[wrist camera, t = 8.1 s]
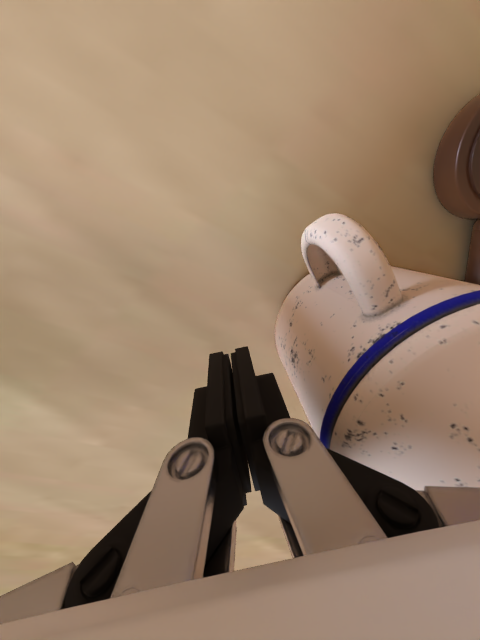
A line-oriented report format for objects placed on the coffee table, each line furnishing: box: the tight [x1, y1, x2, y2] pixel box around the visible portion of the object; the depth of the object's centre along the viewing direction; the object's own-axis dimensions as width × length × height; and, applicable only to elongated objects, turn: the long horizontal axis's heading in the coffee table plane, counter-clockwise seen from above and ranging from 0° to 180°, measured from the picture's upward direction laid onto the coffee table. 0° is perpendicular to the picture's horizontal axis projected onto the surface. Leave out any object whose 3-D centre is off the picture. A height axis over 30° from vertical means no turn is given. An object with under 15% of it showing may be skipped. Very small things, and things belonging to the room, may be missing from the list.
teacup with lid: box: [275, 213, 480, 491], centre depth 10 cm, size 12×9×12 cm
